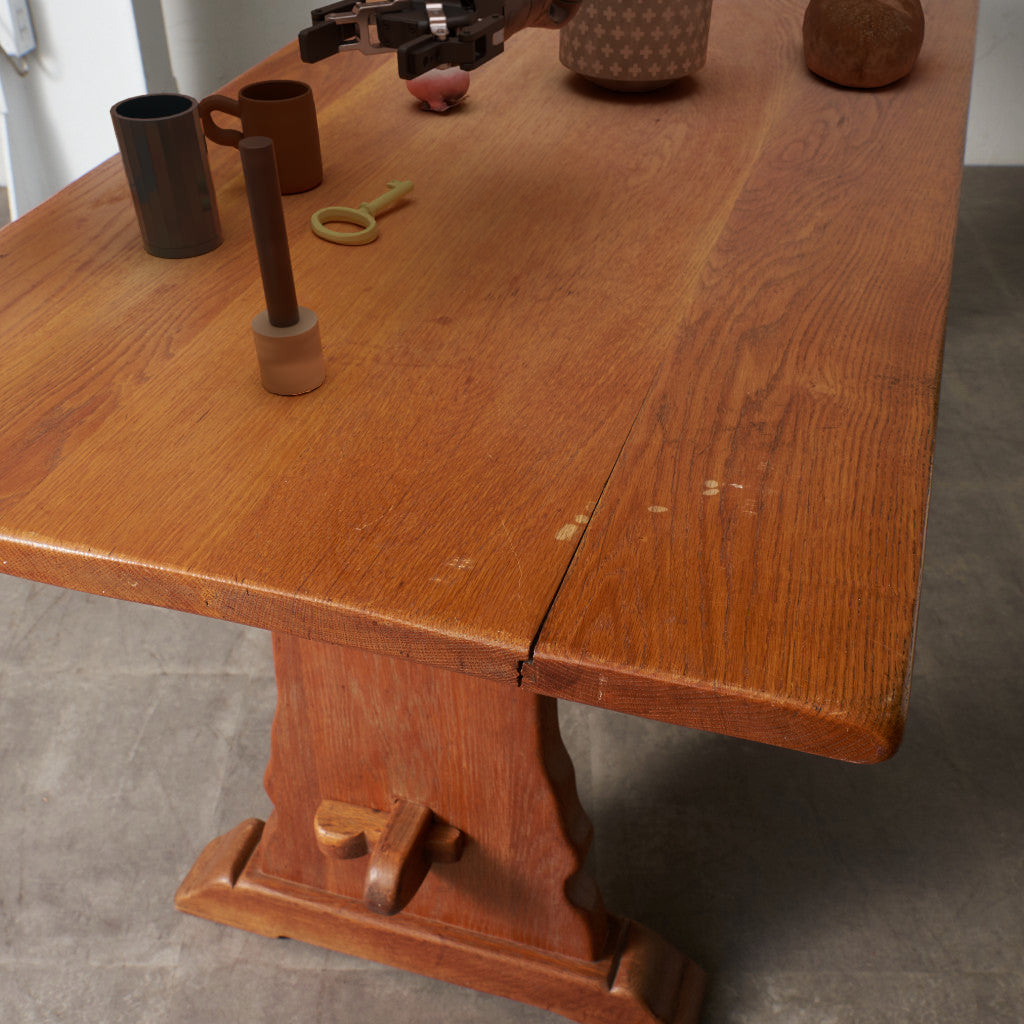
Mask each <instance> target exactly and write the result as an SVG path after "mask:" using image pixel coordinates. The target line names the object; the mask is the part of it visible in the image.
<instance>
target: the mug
mask: <svg viewBox="0 0 1024 1024" xmlns="http://www.w3.org/2000/svg"><path fill="white" fill-rule="evenodd" d="M313 94H314V93H313V89H312V87H311V86H310V85H309V84H308V83H306V82H305V81H300V80H294V79H268V80H261V81H256V82H252V83H249V84H246V85H245V86H243V87H241V88H240V89H239V90H238V92H237V99H234V98H231V97H230V96H229V97H228V96H226V95H223V94H211V95H208V96H206V97H204V98H202V99H200V101H199V102H198V103H199V108H200V113H201V119H202V124H203V129H204V134H205V138H207V139H208V140H209V141H211V142H212V143H214V144H217V145H219V146H223V147H230V148H231V147H232V148H234V149H236V150H238V151H239V152H240V150H239V145H238V144H239V142H240V141H241V140H242V139H245V138H248V137H254V136H263V137H268V138H271V139H272V140H273V145H274V152H275V158H276V165H277V172H278V178H279V185H280V191H281V195H288V194H298V193H301V192H305V191H308V190H312V189H313V188H315V187H316V186H318V185H319V184H320V183H321V181H322V180H323V178H324V177H323V175H324V167H323V160H322V152H321V142H320V133H319V125H318V119H317V118H318V116H317V109H316V103H315V99H314V95H313ZM216 111H217V112H221V113H223V114H226V115H229V116H232V117H235V118H237V119H239V120H240V124H241V129H242V131H240V130H237V129H234V128H222V127H220V126H218V125H217V124H216V123H215V121H214V119H213V118H212V114H211V113H212V112H216Z"/></svg>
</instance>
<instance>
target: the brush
mask: <svg viewBox="0 0 1024 1024" xmlns="http://www.w3.org/2000/svg"><path fill="white" fill-rule="evenodd" d="M238 145H239V150H240V151H239V150H238V151H239V155H240V162H241V167H242V172H243V179H244V184H245V190H246V196H247V202H248V207H249V208H248V209H249V214H250V219H251V225H252V231H253V236H254V242H255V247H256V248H255V249H256V253H257V259H258V265H259V270H260V277H261V283H262V288H263V293H264V299H265V306H266V309H264V310H262V311H260V312H258V313H257V314H256V315H255V316H254V317H252V319H251V323H250V324H251V325H250V326H251V331H252V337H253V343H254V347H255V353H256V358H257V365H258V368H259V374H260V379H261V384H262V386H263V388H264V389H265V390H266V391H267V392H269V393H270V394H273V393H276V394H275V395H277V394H279V395H278V396H282V395H293V394H299V393H303V392H306V391H309V390H312V389H313V388H316V387H318V386H319V385H320V384H321V383H322V382H323V381H324V379H325V380H326V378H325V376H326V377H327V375H326V374H325V373H326V366H325V361H324V354H323V347H322V339H321V338H322V337H321V332H320V330H321V329H320V323H319V317H318V314H317V313H316V312H315V311H314V310H313V309H311V308H309V307H307V306H306V307H305V306H302V305H299V304H298V297H297V290H296V285H295V278H294V272H293V271H294V270H293V264H292V259H291V252H290V245H289V240H288V232H287V226H286V219H285V211H284V205H283V197H282V194H281V191H280V185H279V178H278V172H277V165H276V158H275V152H274V145H273V140H272V139H271V138H268V137H263V136H254V137H248V138H245V139H242V140H241V141H240V142H239V144H238ZM324 382H325V381H324ZM324 382H323V383H324ZM318 388H319V387H318ZM280 394H281V395H280Z"/></svg>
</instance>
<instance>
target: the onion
mask: <svg viewBox="0 0 1024 1024" xmlns="http://www.w3.org/2000/svg"><path fill="white" fill-rule="evenodd" d="M405 84H406V85H405V86H406V89H407V91H408V92H409V93H410V94H411V95H412V96H413V97H415V98H416V99H417V100H419V101H421V102H423V104H422V105H421V107H420V109H422V110H426V111H435V112H444V111H446V110H447V109H449V108H451V107H455V106H457V105H458V104H461V103H462V102H464V101H466V100H467V98H469V97H471V95H470V94H468V95H467V93H468V91H469V88H470V85H471V76H470V71H469V72H467V71H463V70H460V66H457V67H452V68H449V69H446V70H439V69H433V70H431V71H429V72H427V73H425V74H423V75H421V76H419V77H417V78H415V79H413V80H410V81H409V80H405ZM459 100H460V101H459ZM450 101H453V102H455V104H453V105H449V104H448V103H450ZM457 101H459V102H457ZM456 102H457V103H456Z"/></svg>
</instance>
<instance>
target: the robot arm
mask: <svg viewBox="0 0 1024 1024" xmlns="http://www.w3.org/2000/svg"><path fill="white" fill-rule="evenodd" d="M582 3H583V0H379V1H372V2H371V1H370V2H367V0H340V1H337V2H333V3H331V4H328V5H324V6H322V7H319V8H315V9H312V10H311V11H310V16H311V26H309V27H307V28H304V29H302V30H300V31H299V33H298V34H297V38H298V40H297V41H298V47H299V54H300V59H301V61H302V63H304V64H310V65H314V64H316V63H319V62H321V61H323V60H325V59H328V58H330V57H332V56H334V55H337V54H340V53H344V52H351V51H359V52H360V53H361V54H362V55H363V56H374V55H383V54H390V53H396V57H397V58H396V59H397V60H396V61H397V72H398V74H397V75H398V77H399V79H400V80H404V81H406V80H409V81H410V80H413V79H415V78H417V77H419V76H421V75H423V74H425V73H427V72H429V71H431V70H433V69H439V70H446V69H449V68H452V67H457V66H460V70H463V71H467V72H469V73H470V72H472V71H474V70H477V69H478V68H481V66H483V65H485V64H487V63H488V62H490V61H491V60H493V59H494V58H496V57H498V56H499V55H501V54H503V53H504V52H505V42H507V41H508V40H509V39H510V38H511V37H513V35H515V34H517V33H519V32H521V31H522V30H525V29H527V28H531V29H544V30H545V29H546V30H551V31H552V30H560V28H562V27H564V26H565V25H567V24H568V23H569V22H570V21H571V20H572V19H573V18H574V16H575V15H576V14H577V12H578V10H579V9H580V7H581V5H582ZM370 26H376V34H377V40H378V42H372V43H371V38H370ZM352 38H353V39H352Z"/></svg>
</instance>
